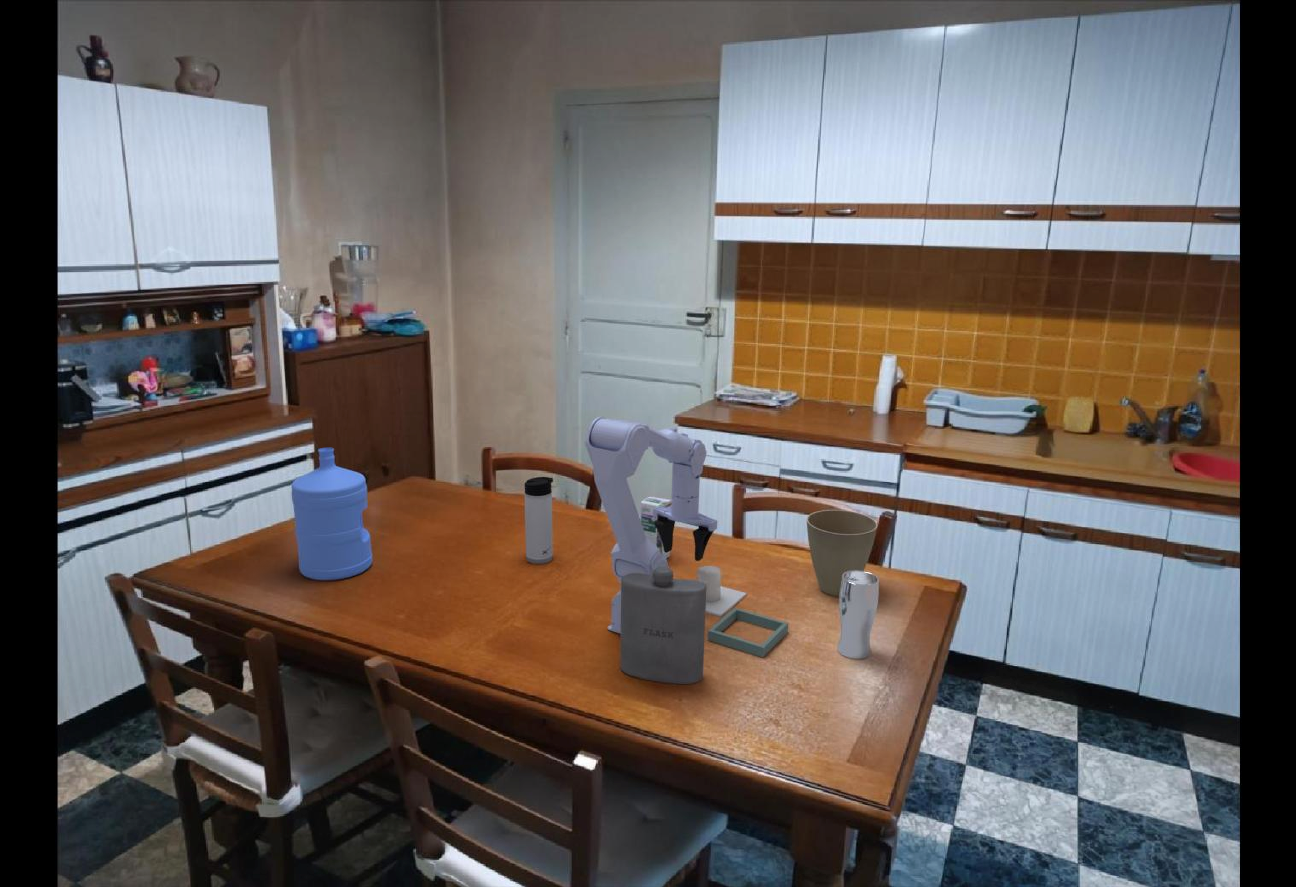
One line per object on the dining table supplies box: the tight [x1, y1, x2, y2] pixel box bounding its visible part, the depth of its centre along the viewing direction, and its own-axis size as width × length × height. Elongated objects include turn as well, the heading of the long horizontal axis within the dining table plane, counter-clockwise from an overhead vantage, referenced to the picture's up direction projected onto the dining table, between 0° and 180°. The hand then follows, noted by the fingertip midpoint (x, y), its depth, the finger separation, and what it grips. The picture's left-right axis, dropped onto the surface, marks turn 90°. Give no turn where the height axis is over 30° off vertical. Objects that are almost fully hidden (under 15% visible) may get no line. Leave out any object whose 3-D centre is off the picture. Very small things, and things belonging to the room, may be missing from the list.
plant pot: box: [806, 509, 879, 597], centre depth 174 cm, size 15×15×16 cm
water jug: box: [291, 447, 373, 581], centre depth 179 cm, size 16×16×28 cm
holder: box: [707, 607, 789, 658], centre depth 155 cm, size 12×12×2 cm
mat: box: [705, 585, 747, 618], centre depth 170 cm, size 12×12×1 cm
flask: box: [619, 566, 706, 685], centre depth 139 cm, size 15×6×20 cm, turn 76°
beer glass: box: [837, 570, 880, 660], centre depth 148 cm, size 7×7×15 cm
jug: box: [696, 565, 722, 602], centre depth 168 cm, size 7×5×6 cm
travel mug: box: [524, 476, 554, 565], centre depth 186 cm, size 6×7×20 cm
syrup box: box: [639, 496, 671, 559], centre depth 189 cm, size 6×6×14 cm
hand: (683, 555), depth 169 cm, fingers open, 7 cm apart
